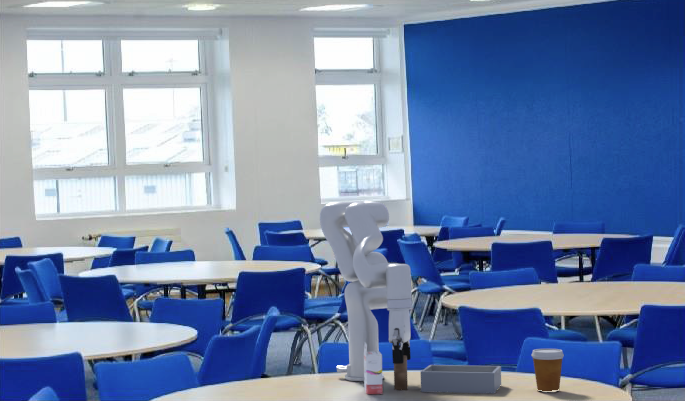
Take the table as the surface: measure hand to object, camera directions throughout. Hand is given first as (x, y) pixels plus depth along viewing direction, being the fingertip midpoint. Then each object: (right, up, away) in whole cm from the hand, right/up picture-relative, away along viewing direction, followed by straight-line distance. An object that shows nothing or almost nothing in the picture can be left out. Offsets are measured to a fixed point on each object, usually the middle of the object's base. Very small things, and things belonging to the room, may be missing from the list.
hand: (401, 361), depth 368 cm
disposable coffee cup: (+43, -8, -9) cm, 44 cm away
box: (+18, -8, -1) cm, 20 cm away
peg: (0, -8, +1) cm, 8 cm away
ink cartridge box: (-9, -9, -3) cm, 13 cm away
